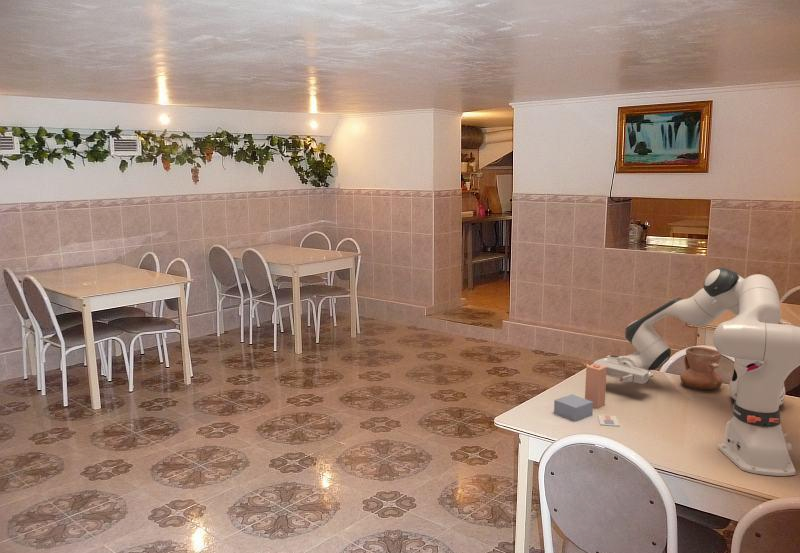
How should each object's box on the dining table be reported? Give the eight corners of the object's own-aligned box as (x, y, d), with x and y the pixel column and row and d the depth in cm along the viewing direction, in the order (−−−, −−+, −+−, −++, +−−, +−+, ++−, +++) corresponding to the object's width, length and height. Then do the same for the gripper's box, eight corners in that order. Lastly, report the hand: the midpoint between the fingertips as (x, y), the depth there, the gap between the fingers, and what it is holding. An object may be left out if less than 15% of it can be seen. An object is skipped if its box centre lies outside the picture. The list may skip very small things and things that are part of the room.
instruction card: (619, 426, 211) (619, 425, 211) (600, 425, 213) (600, 423, 212) (616, 416, 219) (616, 415, 219) (597, 415, 220) (597, 414, 220)
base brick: (592, 415, 221) (593, 401, 220) (575, 422, 216) (575, 407, 215) (571, 407, 228) (571, 394, 227) (553, 413, 223) (554, 399, 222)
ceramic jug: (732, 393, 241) (735, 355, 239) (697, 395, 238) (700, 357, 236) (701, 378, 258) (704, 343, 256) (668, 380, 256) (671, 344, 253)
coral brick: (604, 404, 230) (606, 365, 227) (597, 408, 226) (599, 368, 224) (592, 401, 233) (594, 362, 231) (584, 404, 230) (586, 365, 227)
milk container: (771, 416, 219) (776, 365, 216) (719, 401, 232) (723, 353, 229) (791, 404, 230) (797, 354, 227) (741, 390, 243) (745, 344, 240)
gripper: (654, 382, 238) (636, 392, 229) (603, 369, 253) (584, 378, 243) (656, 366, 237) (637, 374, 228) (604, 354, 252) (585, 361, 242)
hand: (609, 376), depth 236 cm, fingers open, 8 cm apart
